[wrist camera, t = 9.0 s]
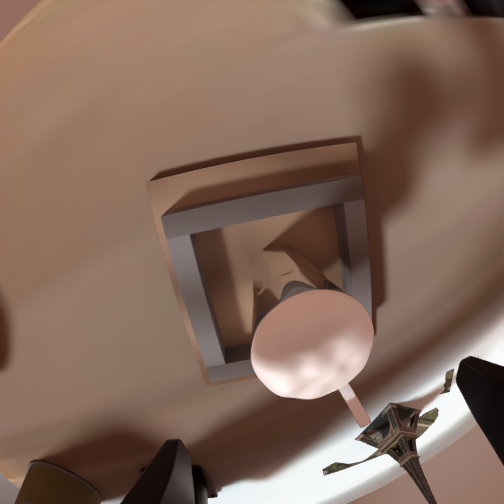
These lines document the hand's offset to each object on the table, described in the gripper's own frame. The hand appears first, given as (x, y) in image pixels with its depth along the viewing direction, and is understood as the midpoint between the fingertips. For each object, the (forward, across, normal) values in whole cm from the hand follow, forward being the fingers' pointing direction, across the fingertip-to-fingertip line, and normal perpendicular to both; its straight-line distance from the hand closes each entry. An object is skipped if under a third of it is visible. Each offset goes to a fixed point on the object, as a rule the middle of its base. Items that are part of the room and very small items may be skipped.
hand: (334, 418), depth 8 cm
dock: (+12, 0, 0) cm, 12 cm away
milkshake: (+11, 0, 0) cm, 11 cm away
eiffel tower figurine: (+13, -9, +19) cm, 25 cm away
